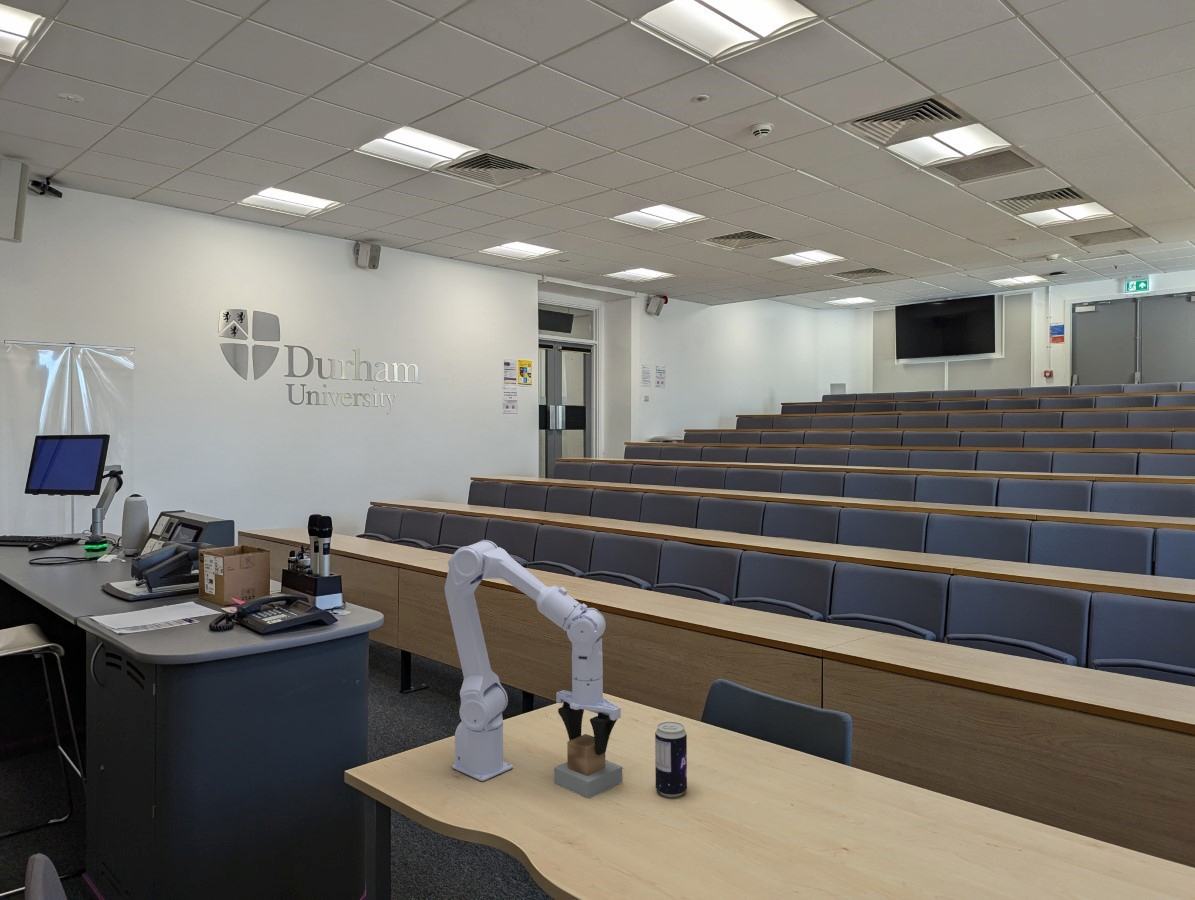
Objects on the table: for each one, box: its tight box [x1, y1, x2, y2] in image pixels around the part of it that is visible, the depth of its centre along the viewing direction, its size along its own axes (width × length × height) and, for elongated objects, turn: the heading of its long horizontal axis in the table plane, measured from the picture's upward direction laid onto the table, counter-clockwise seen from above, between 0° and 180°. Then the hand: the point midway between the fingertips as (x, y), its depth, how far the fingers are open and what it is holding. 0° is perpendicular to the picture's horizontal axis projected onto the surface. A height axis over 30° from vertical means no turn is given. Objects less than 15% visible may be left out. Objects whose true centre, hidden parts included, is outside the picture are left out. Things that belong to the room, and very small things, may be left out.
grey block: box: [553, 759, 623, 799], centre depth 146 cm, size 9×9×4 cm
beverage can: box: [654, 721, 688, 798], centre depth 142 cm, size 6×6×12 cm
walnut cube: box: [566, 733, 606, 776], centre depth 146 cm, size 5×5×5 cm
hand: (588, 748), depth 146 cm, fingers open, 6 cm apart
